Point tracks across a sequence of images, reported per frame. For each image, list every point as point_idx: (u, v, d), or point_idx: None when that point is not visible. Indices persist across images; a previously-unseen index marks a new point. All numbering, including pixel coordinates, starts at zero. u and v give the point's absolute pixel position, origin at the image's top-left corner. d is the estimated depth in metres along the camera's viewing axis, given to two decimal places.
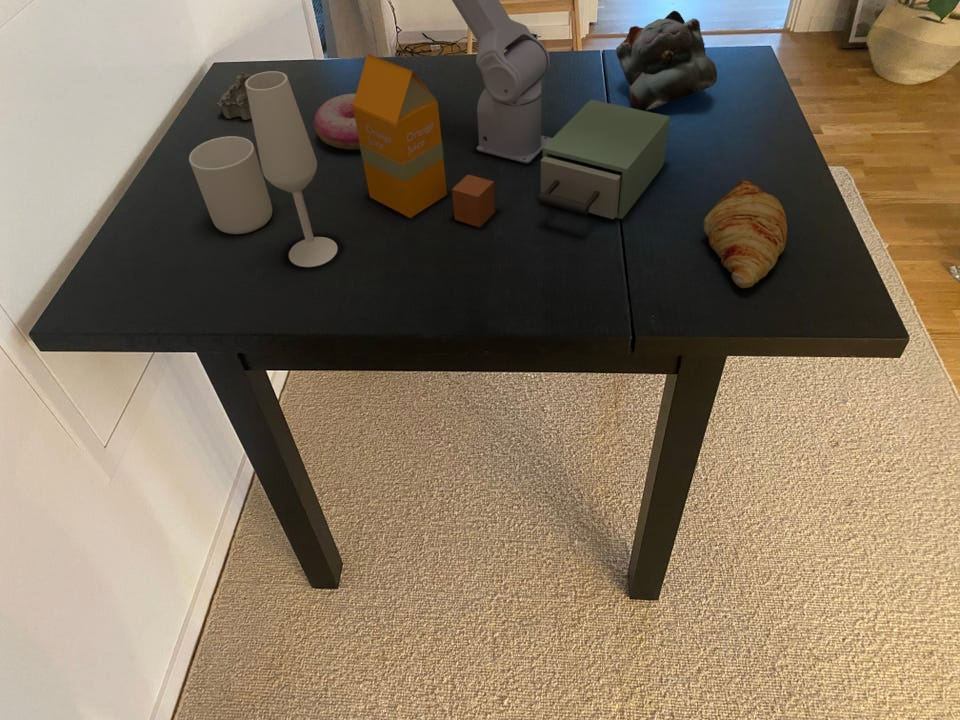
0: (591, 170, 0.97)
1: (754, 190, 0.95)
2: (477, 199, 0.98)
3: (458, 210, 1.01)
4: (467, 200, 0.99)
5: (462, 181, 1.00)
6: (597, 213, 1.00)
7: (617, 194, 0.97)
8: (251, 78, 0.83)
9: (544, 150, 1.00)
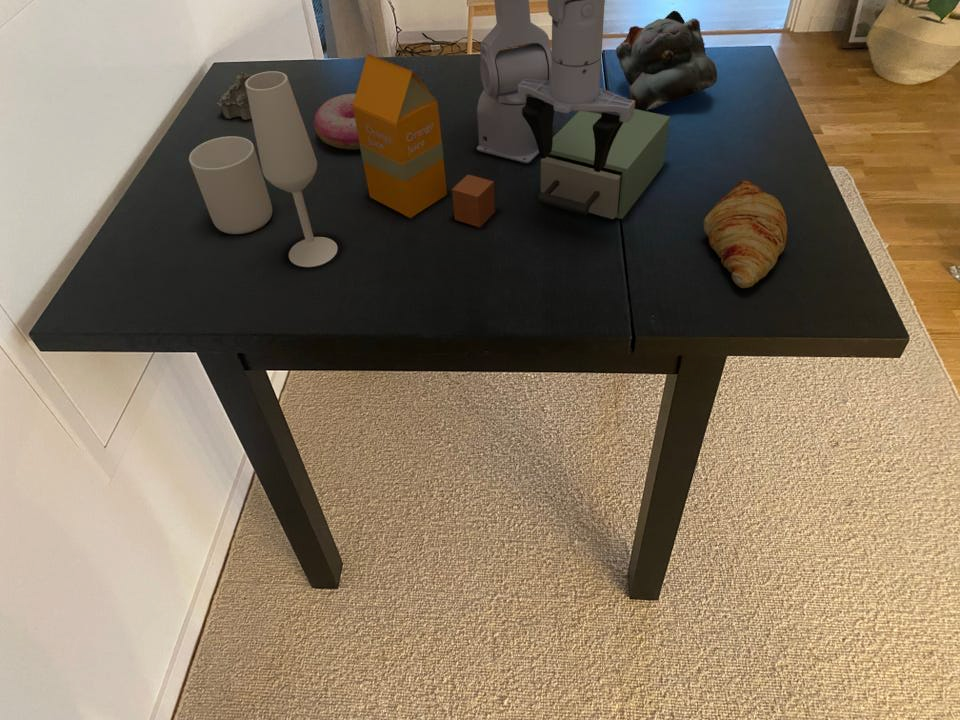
0: (591, 170, 0.97)
1: (754, 190, 0.95)
2: (477, 199, 0.98)
3: (458, 210, 1.01)
4: (467, 200, 0.99)
5: (462, 181, 1.00)
6: (597, 213, 1.00)
7: (617, 194, 0.97)
8: (251, 78, 0.83)
9: None
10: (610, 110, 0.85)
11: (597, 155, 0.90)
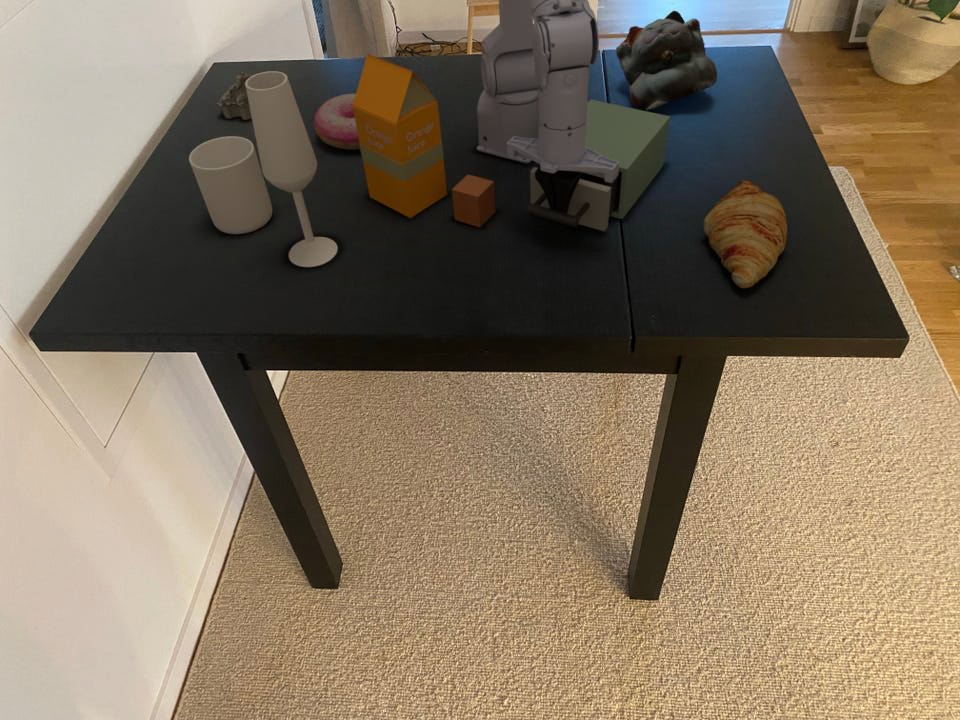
0: (581, 181, 0.95)
1: (754, 190, 0.95)
2: (477, 199, 0.98)
3: (458, 210, 1.01)
4: (467, 200, 0.99)
5: (462, 181, 1.00)
6: (588, 225, 0.98)
7: (608, 206, 0.95)
8: (251, 78, 0.83)
9: None
10: (595, 171, 0.88)
11: (558, 204, 0.94)
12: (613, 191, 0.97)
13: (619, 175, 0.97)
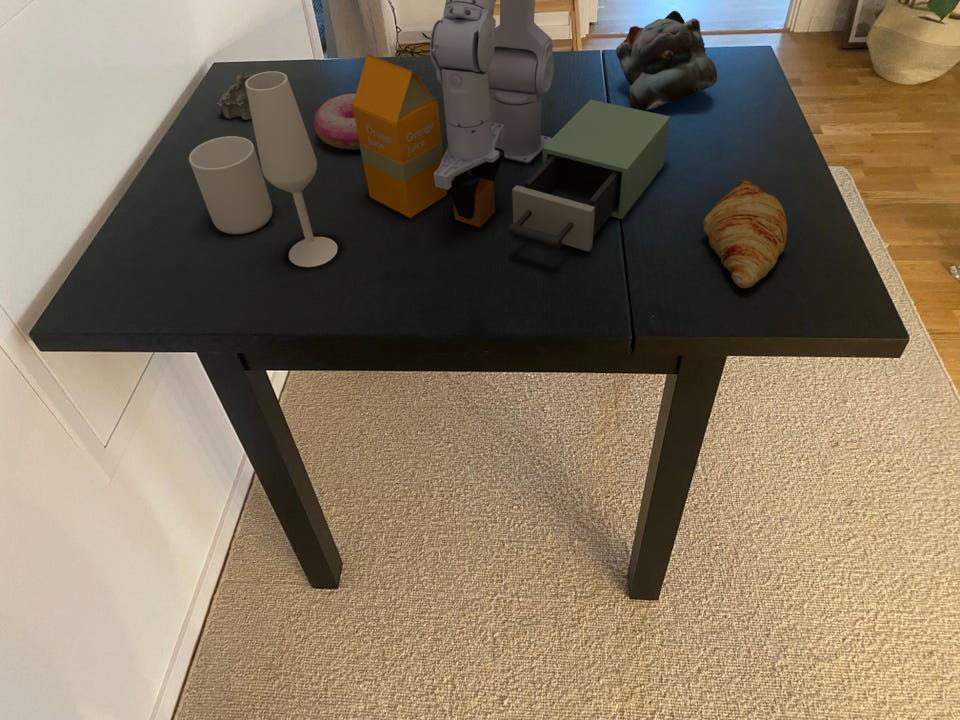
0: (564, 200, 0.92)
1: (754, 190, 0.95)
2: (477, 199, 0.98)
3: None
4: None
5: None
6: (571, 245, 0.95)
7: (592, 226, 0.92)
8: (251, 78, 0.83)
9: (544, 150, 1.00)
10: (499, 136, 0.98)
11: None
12: (597, 210, 0.94)
13: (604, 194, 0.94)
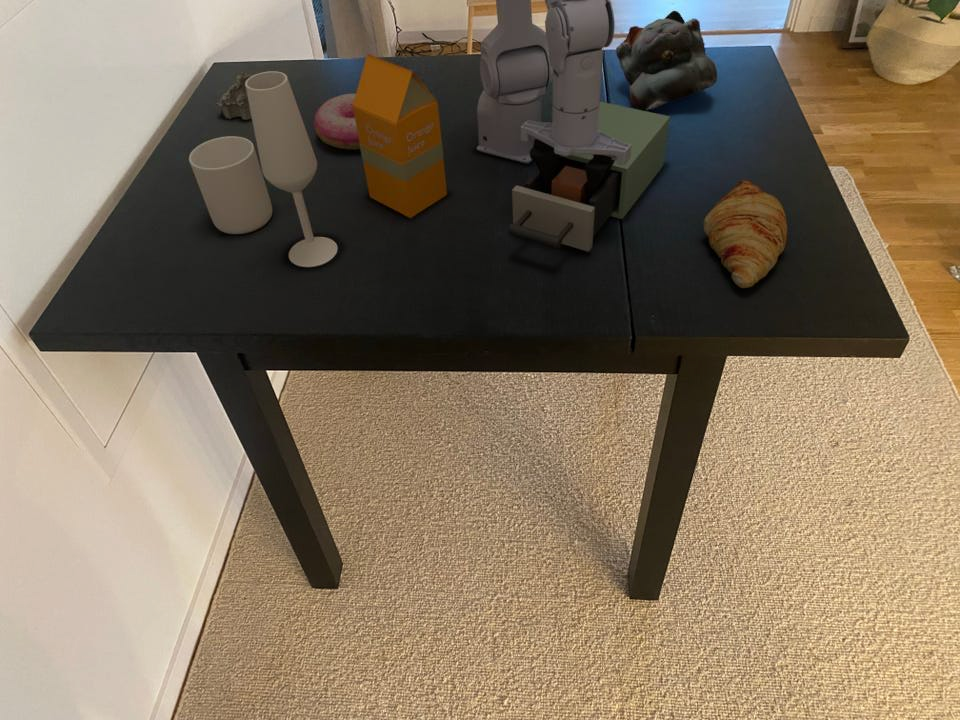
0: (564, 201, 0.92)
1: (754, 190, 0.95)
2: (552, 183, 0.96)
3: None
4: None
5: (580, 170, 0.97)
6: (571, 245, 0.95)
7: (591, 226, 0.92)
8: (251, 78, 0.83)
9: None
10: (608, 153, 0.90)
11: (589, 192, 0.95)
12: (597, 211, 0.94)
13: (603, 194, 0.94)
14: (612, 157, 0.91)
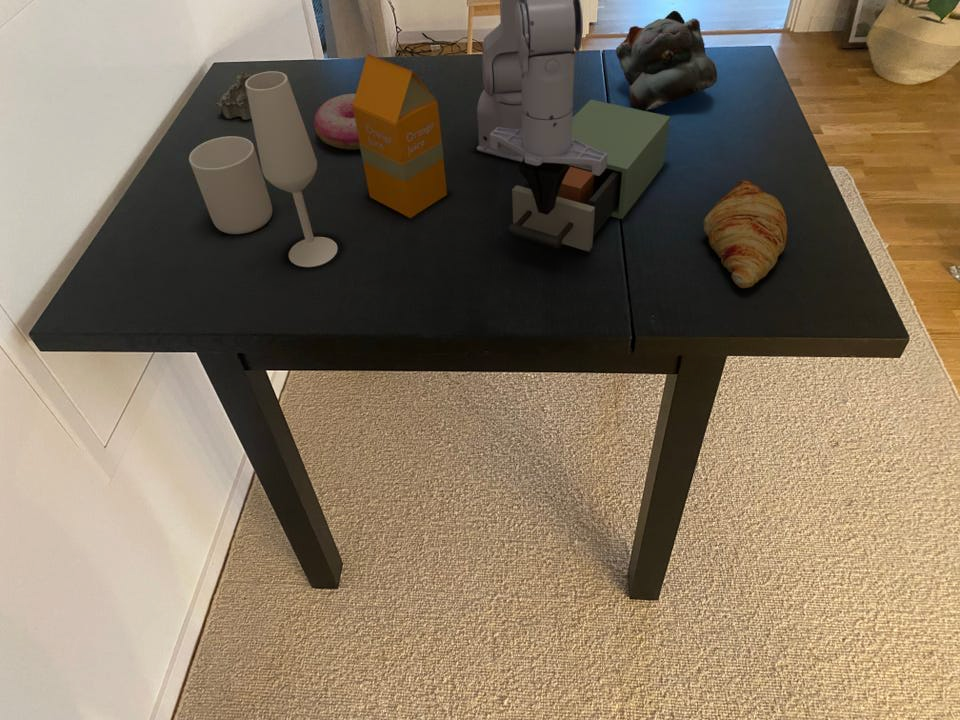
0: (564, 200, 0.92)
1: (754, 190, 0.95)
2: None
3: None
4: None
5: (580, 170, 0.97)
6: (571, 245, 0.95)
7: (592, 226, 0.92)
8: (251, 78, 0.83)
9: None
10: (582, 163, 0.83)
11: (544, 199, 0.89)
12: (597, 210, 0.94)
13: (604, 194, 0.94)
14: None
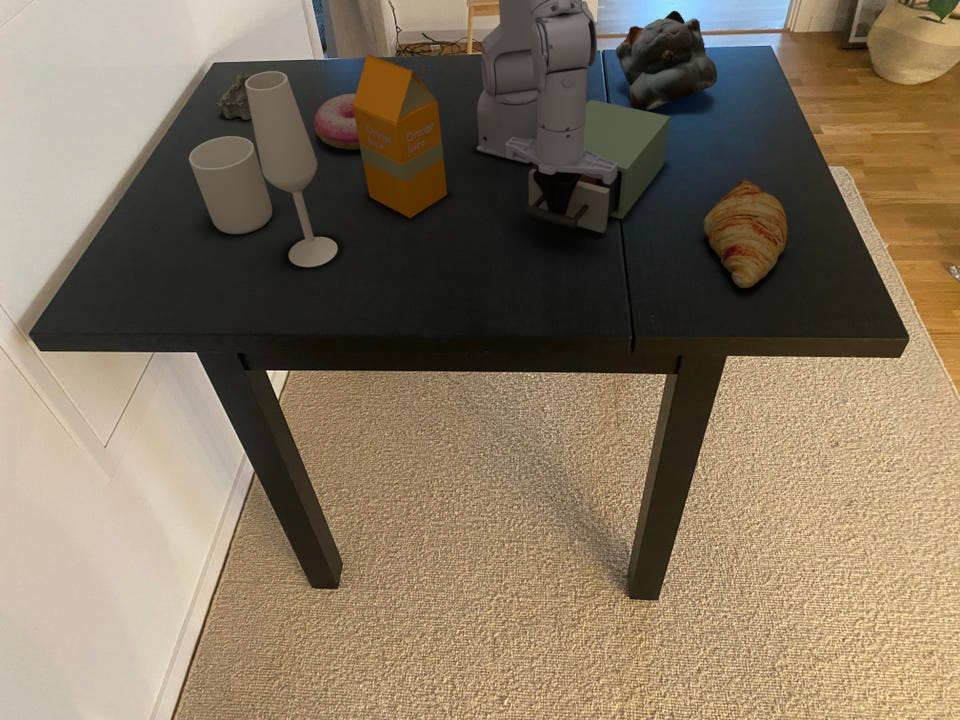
0: (579, 183, 0.95)
1: (754, 190, 0.95)
2: None
3: None
4: None
5: None
6: (586, 226, 0.98)
7: (606, 207, 0.95)
8: (251, 78, 0.83)
9: None
10: (593, 172, 0.88)
11: (557, 206, 0.94)
12: (611, 193, 0.97)
13: (618, 177, 0.96)
14: None
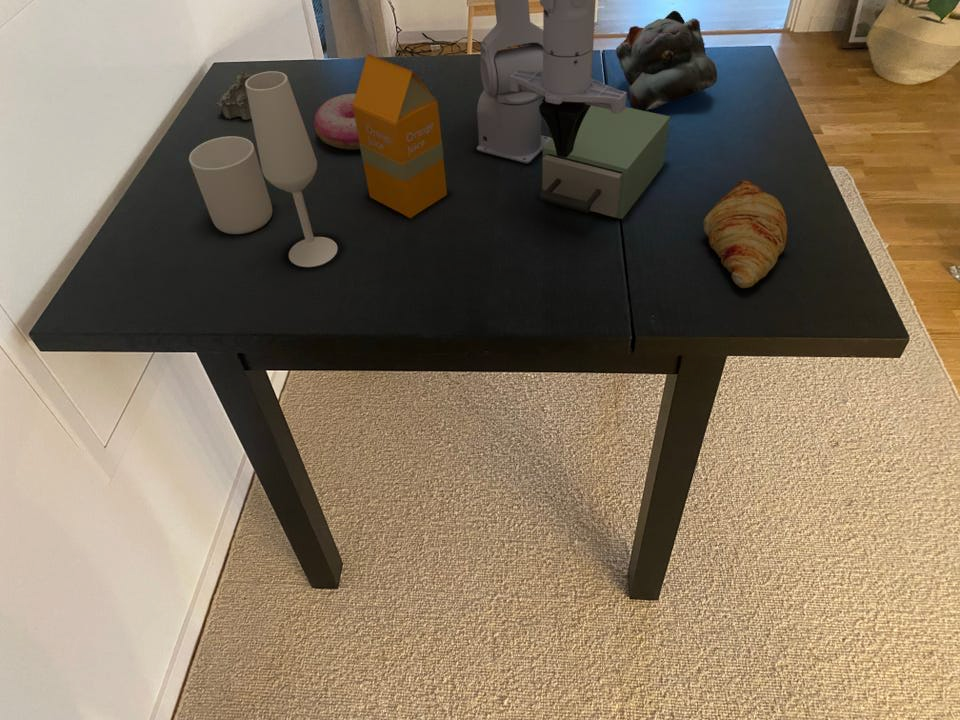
0: (592, 168, 0.97)
1: (754, 190, 0.95)
2: None
3: None
4: None
5: None
6: (599, 211, 1.00)
7: (619, 192, 0.97)
8: (251, 78, 0.83)
9: (544, 150, 1.00)
10: (602, 101, 0.85)
11: (563, 140, 0.91)
12: None
13: None
14: None
